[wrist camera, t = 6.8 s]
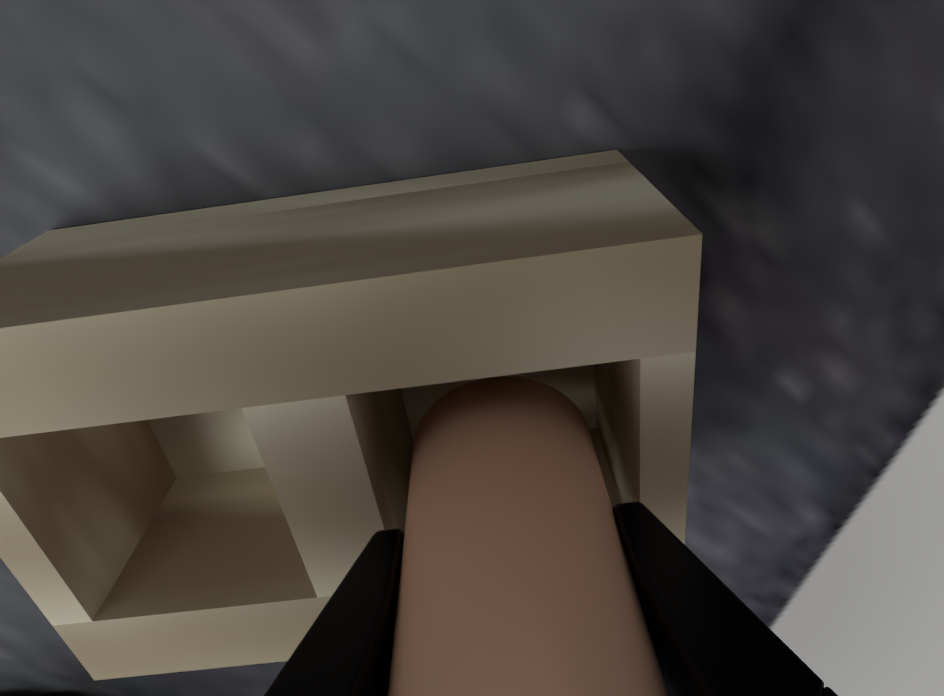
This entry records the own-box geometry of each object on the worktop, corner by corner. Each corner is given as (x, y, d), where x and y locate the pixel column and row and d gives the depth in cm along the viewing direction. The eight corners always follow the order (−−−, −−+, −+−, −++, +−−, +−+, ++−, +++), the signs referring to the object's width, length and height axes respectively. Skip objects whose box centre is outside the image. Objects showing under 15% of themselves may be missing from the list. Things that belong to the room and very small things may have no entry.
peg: (593, 504, 12) (787, 1240, 5) (430, 523, 12) (388, 1259, 5) (586, 364, 10) (860, 1161, 3) (397, 388, 10) (271, 1194, 3)
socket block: (621, 454, 16) (680, 621, 12) (187, 505, 17) (94, 680, 13) (616, 149, 12) (701, 233, 8) (48, 230, 13) (-159, 349, 9)
